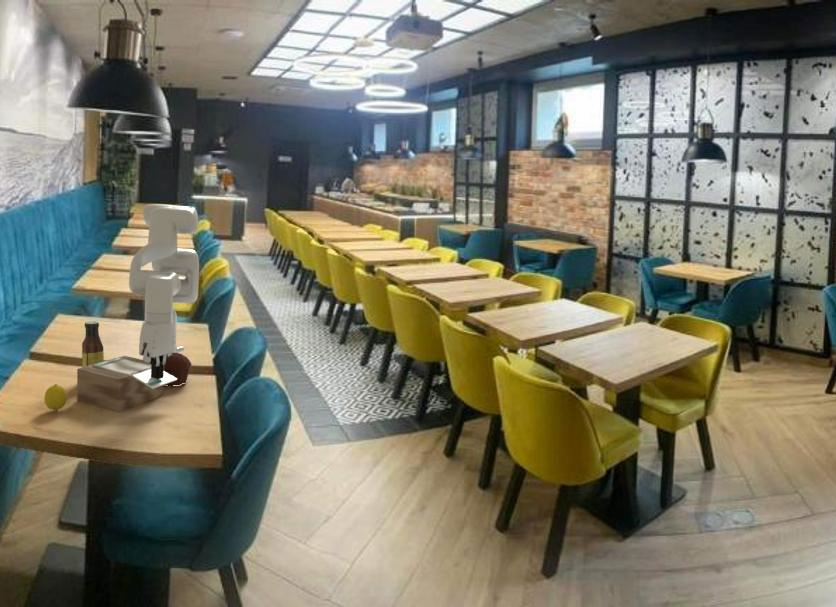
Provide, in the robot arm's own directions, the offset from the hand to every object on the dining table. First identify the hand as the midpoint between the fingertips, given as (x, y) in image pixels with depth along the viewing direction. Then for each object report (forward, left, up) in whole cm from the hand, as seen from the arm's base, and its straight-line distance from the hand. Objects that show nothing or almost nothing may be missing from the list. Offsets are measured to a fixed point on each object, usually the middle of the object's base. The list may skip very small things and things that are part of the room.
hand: (157, 377), depth 189 cm
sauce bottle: (-6, -32, -10) cm, 34 cm away
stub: (0, -1, -1) cm, 1 cm away
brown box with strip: (0, -14, -9) cm, 17 cm away
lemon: (+18, -20, -10) cm, 28 cm away
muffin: (-20, -12, -10) cm, 25 cm away
